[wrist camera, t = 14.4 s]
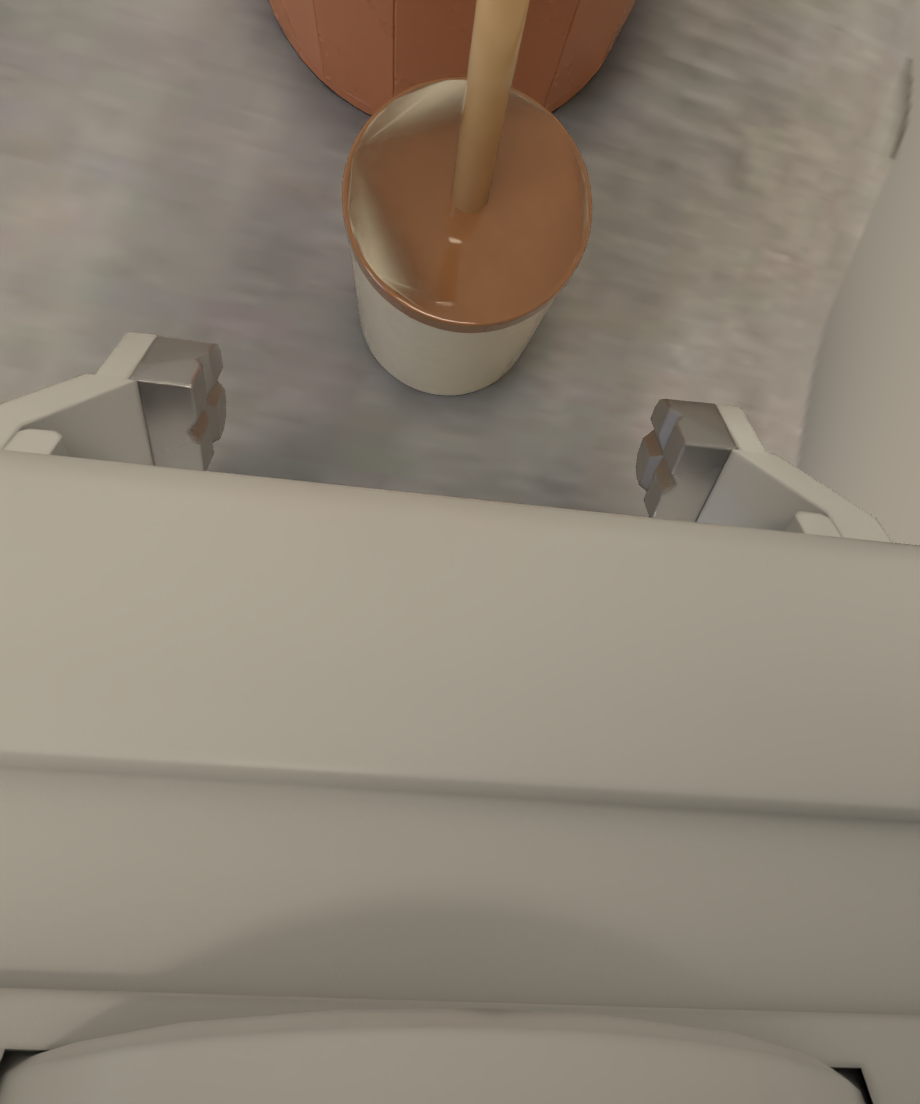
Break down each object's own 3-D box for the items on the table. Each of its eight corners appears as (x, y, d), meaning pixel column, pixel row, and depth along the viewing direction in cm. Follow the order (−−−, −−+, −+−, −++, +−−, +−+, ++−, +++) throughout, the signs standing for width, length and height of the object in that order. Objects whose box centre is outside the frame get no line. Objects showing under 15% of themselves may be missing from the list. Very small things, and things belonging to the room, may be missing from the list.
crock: (525, 406, 23) (897, -33, 6) (348, 386, 23) (214, -158, 6) (543, 204, 24) (954, -772, 6) (368, 179, 23) (297, -966, 6)
